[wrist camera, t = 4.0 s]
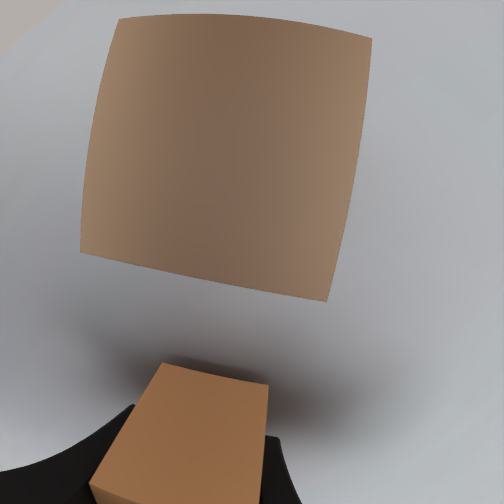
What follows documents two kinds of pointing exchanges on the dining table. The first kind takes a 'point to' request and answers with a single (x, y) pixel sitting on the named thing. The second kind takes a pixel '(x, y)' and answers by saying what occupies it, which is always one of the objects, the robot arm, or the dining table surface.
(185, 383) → the orange block
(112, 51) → the walnut block
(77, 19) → the dining table surface
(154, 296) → the dining table surface
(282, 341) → the dining table surface
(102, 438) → the robot arm
